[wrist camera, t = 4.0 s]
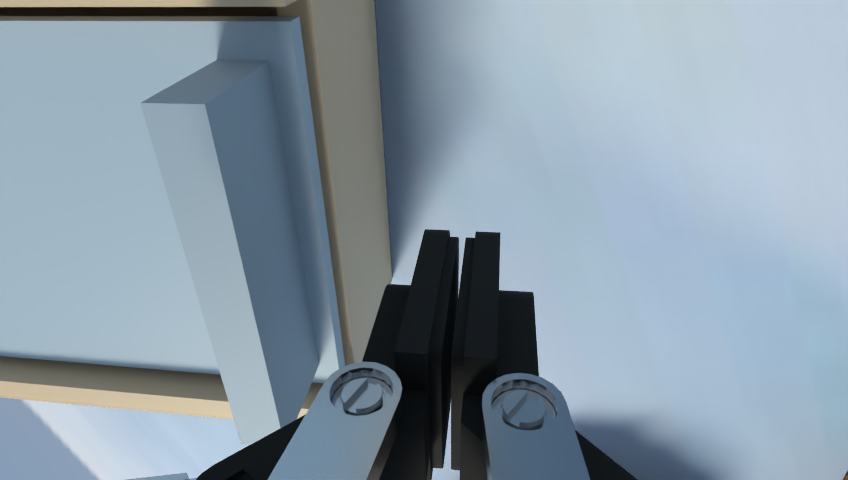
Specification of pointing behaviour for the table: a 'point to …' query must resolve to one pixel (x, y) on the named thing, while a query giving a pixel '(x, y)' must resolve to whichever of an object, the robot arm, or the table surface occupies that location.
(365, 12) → the mailer box
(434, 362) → the robot arm
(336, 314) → the lid
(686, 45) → the table surface
